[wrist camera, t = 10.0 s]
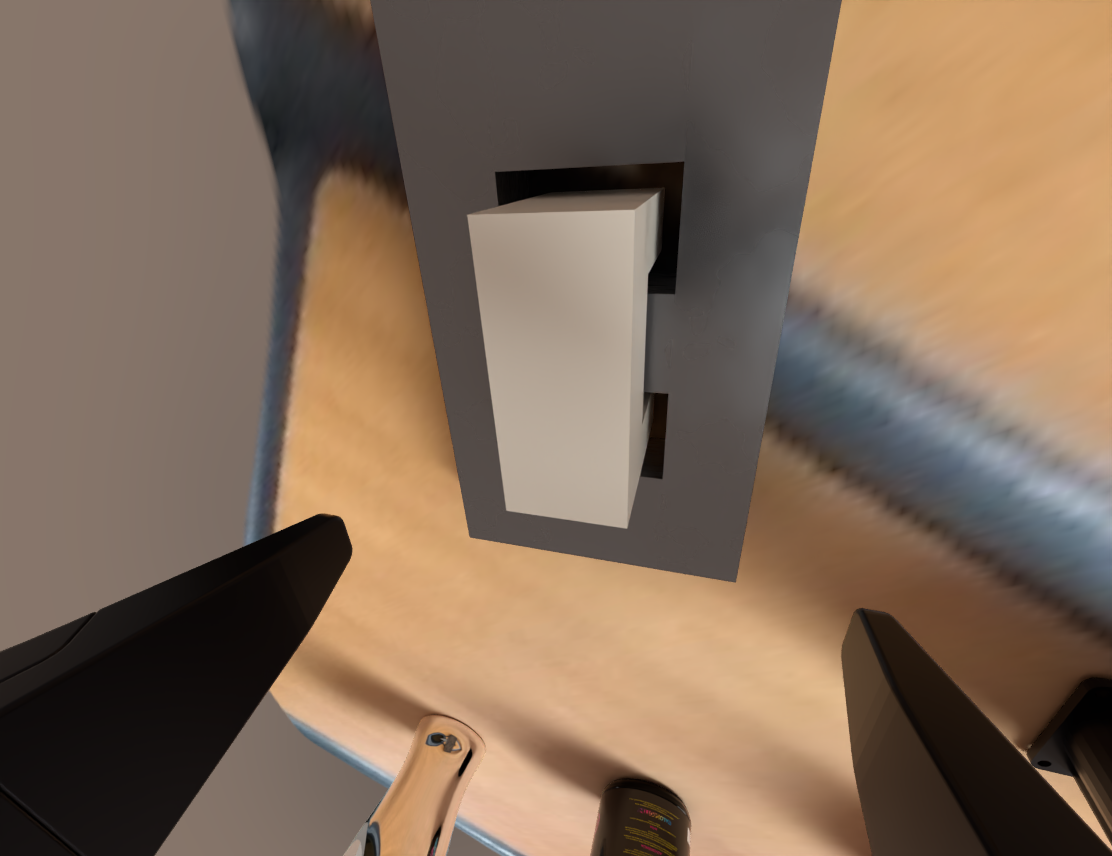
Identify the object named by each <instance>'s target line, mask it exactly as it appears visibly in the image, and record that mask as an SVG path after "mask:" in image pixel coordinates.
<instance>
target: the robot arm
mask: <svg viewBox="0 0 1112 856" xmlns="http://www.w3.org/2000/svg"><path fill="white" fill-rule="evenodd" d="M351 556H352V545H351V542H350V539H349V536H348V533H347V530H346V527H345V524H344V522H343V520H342V519H341V518H340V517H339V516H335V515H329V514H318V515H315V516H313V517H310V518H308V519H306V520H304V521H301V522H299V523H297V524H294V525H292V526H290V527H288V528H285V529H283V530H281V531H278V532H276V533H274V534H272V535H269V536H267V537H265V538H262V539H260V540H258V541H256V542H253V543H251V544H249V545H246V546H244V547H242V548H240V549H237V550H235V551H233V552H230V553H228V554H226V555H223V556H222V557H219V558H217V559H214V560H212V561H210V562H208V563H205V564H203V565H201V566H198V567H196V568H194V569H191V570H189V571H187V572H185V573H182V574H180V575H178V576H175V577H173V578H171V579H169V580H166V581H164V582H162V583H159V584H157V585H155V586H153V587H151V588H148V589H146V590H143V591H141V592H139V593H137V594H134V595H132V596H130V597H128V598H125V599H123V600H121V601H118V602H116V603H114V604H111V605H109V606H107V607H104V608H102V609H100V610H99V611H98V612H93V613H90V614H88V615H86V616H84V617H81V618H79V619H77V620H74V621H72V622H70V623H68V624H65V625H63V626H61V627H58V628H56V629H54V630H51V631H49V632H46V633H44V634H42V635H39V636H37V637H35V638H32V639H30V640H28V641H25V642H23V643H20V644H18V645H15V646H13V647H10V648H8V649H6V650H3V651H0V856H155V854H156V853H157V851H158V850H159V849H160V847H161V846H162V844H163V843H164V841H165V840H166V838H167V837H168V836H169V834H170V833H171V831H172V830H173V828H174V827H175V825H176V824H177V822H178V821H179V819H180V818H181V817H182V815H183V814H184V812H185V811H186V809H187V808H188V806H189V805H190V804H191V802H192V801H193V799H194V798H195V796H196V795H197V793H198V792H199V791H200V789H201V788H202V786H203V785H204V783H205V782H206V780H207V779H208V778H209V776H210V774H211V773H212V772H213V770H214V769H215V767H216V766H217V764H218V763H219V762H220V760H221V759H222V757H223V756H224V754H225V753H226V751H227V750H228V749H229V747H230V746H231V744H232V743H233V741H234V740H235V738H236V737H237V735H238V734H239V733H240V731H241V730H242V728H243V727H244V725H245V724H246V722H247V720H248V719H249V718H250V717H251V715H252V714H253V712H254V711H255V709H256V708H257V706H258V705H259V704H260V702H261V701H262V699H263V698H264V696H265V695H266V693H267V692H268V691H269V689H270V688H271V686H272V685H273V683H274V682H275V680H276V679H277V677H278V676H279V675H280V673H281V672H282V670H283V669H284V667H285V666H286V664H287V663H288V661H289V660H290V659H291V657H292V656H293V654H294V653H295V651H296V650H297V648H298V647H299V646H300V644H301V643H302V641H303V640H304V638H305V637H306V635H307V634H308V632H309V631H310V629H311V627H312V626H313V624H314V622H315V621H316V619H317V617H318V616H319V614H320V612H321V610H322V609H323V607H324V605H325V603H326V601H327V600H328V598H329V596H330V594H331V593H332V591H333V589H334V587H335V586H336V584H337V582H338V580H339V578H340V577H341V575H342V573H343V571H344V570H345V568H346V566H347V564H348V563H349V561H350V559H351ZM841 659H842V669H843V678H844V688H845V697H846V706H847V715H848V724H849V734H850V743H851V752H852V760H853V767H854V773H855V778H856V784H857V789H858V793H859V798H860V802H861V807H862V811H863V816H864V820H865V825H866V829H867V834H868V838H869V843H870V847H871V852H872V856H1112V851H1111V850H1110V848H1109V847H1108V846H1107V845H1106V844H1105V843H1104V842H1103V841H1102V840H1101V839H1100V838H1099V837H1098V836H1097V835H1096V833H1095V832H1094V831H1093V830H1092V829H1091V828H1090V827H1089V826H1088V825H1087V824H1086V823H1085V822H1084V821H1083V820H1082V818H1081V817H1080V816H1079V815H1078V814H1077V813H1076V812H1075V811H1074V810H1073V809H1072V808H1071V807H1070V806H1069V805H1068V803H1067V802H1066V801H1065V800H1064V799H1063V798H1062V797H1061V796H1060V795H1059V794H1058V793H1057V792H1056V791H1055V790H1054V788H1053V787H1052V786H1051V785H1050V784H1049V783H1048V782H1047V781H1046V780H1045V779H1044V778H1043V777H1042V776H1041V775H1040V773H1039V772H1038V771H1037V770H1036V769H1035V768H1038V769H1041V770H1046V771H1050V772H1054V773H1059V774H1063V775H1067V776H1072V777H1074V779H1075V781H1076V783H1077V784H1078V786H1079V788H1080V790H1081V792H1082V793H1083V795H1084V797H1085V799H1086V800H1087V802H1088V804H1089V806H1090V808H1091V809H1092V811H1093V813H1094V815H1095V816H1096V818H1097V820H1098V822H1099V824H1100V825H1101V827H1102V829H1103V831H1104V832H1105V834H1106V836H1107V838H1108V840H1109V841H1110V843H1111V845H1112V680H1109V679H1104V678H1090V679H1087V680H1085V681H1083V682H1082V683H1081V684H1080V686H1079V687H1078V688H1077V689H1076V691H1075V692H1074V693H1073V694H1072V696H1071V697H1070V698H1069V699H1068V701H1067V702H1066V703H1065V705H1064V706H1063V707H1062V708H1061V710H1060V711H1059V712H1058V713H1057V715H1056V716H1055V717H1054V719H1053V720H1052V721H1051V722H1050V724H1049V725H1048V726H1047V727H1046V729H1045V730H1044V731H1043V733H1042V734H1041V735H1040V736H1039V738H1038V739H1037V740H1036V741H1035V743H1034V744H1033V745H1032V746H1031V748H1030V749H1029V750H1028V752H1027V756H1028V758H1029V760H1030V762H1031V764H1032V765H1031V764H1030V763H1029V762H1028V761H1027V759H1026V758H1025V757H1024V756H1023V755H1022V754H1021V753H1020V752H1019V751H1018V750H1017V749H1016V748H1015V747H1014V746H1013V744H1012V743H1011V742H1010V741H1009V740H1008V739H1007V738H1006V737H1005V736H1004V735H1003V734H1002V733H1001V732H1000V731H999V729H998V728H997V727H996V726H995V725H994V724H993V723H992V722H991V721H990V720H989V719H988V718H987V717H986V716H985V714H984V713H983V712H982V711H981V710H980V709H979V708H978V707H977V706H976V705H975V704H974V703H973V702H972V701H971V699H970V698H969V697H968V696H967V695H966V694H965V693H964V692H963V691H962V690H961V689H960V688H959V687H958V686H957V684H956V683H955V682H954V681H953V680H952V679H951V678H950V677H949V676H948V675H947V674H946V673H945V672H944V671H943V669H942V668H941V667H940V666H939V665H938V664H937V663H936V662H935V661H934V660H933V659H932V658H931V657H930V656H929V654H928V653H927V652H926V651H925V650H924V649H923V648H922V647H921V646H920V645H919V644H918V643H917V642H916V640H915V639H914V638H913V637H912V636H911V635H910V634H909V633H908V632H907V631H906V630H905V629H904V628H903V627H902V625H901V624H900V623H899V622H898V621H897V620H896V619H895V618H894V617H893V616H891V615H890V614H888V613H885V612H880V611H874V610H869V609H863V608H860V609H857V610H856V611H855V612H854V614H853V616H852V619H851V622H850V625H849V627H848V630H847V633H846V636H845V639H844V642H843V645H842V653H841ZM1033 766H1034V767H1035V768H1034V767H1033Z"/></svg>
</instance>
